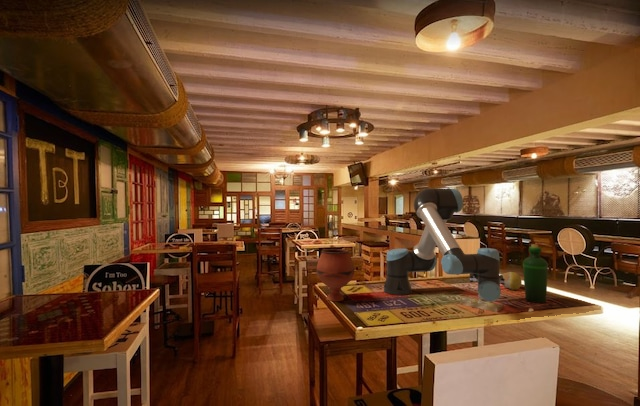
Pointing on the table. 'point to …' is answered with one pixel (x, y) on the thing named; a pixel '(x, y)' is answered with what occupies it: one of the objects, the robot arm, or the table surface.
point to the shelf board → (481, 304)
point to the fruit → (512, 280)
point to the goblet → (335, 271)
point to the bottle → (535, 275)
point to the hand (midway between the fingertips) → (485, 273)
